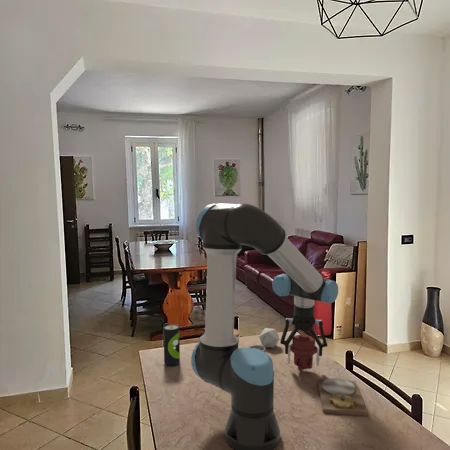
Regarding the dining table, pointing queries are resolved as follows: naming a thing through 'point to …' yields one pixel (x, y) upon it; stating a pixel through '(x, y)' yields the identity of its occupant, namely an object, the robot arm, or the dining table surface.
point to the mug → (258, 347)
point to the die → (269, 338)
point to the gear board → (341, 397)
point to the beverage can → (171, 345)
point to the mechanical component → (303, 351)
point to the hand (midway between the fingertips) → (303, 363)
